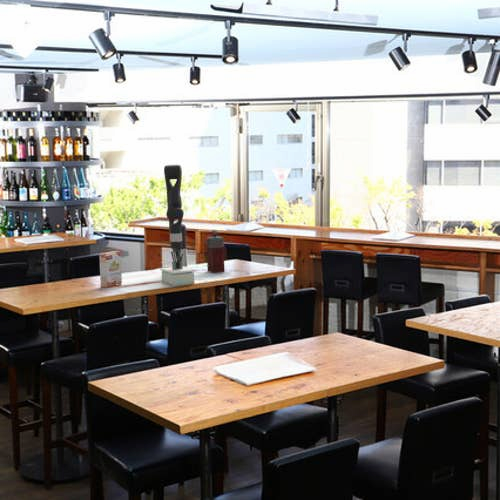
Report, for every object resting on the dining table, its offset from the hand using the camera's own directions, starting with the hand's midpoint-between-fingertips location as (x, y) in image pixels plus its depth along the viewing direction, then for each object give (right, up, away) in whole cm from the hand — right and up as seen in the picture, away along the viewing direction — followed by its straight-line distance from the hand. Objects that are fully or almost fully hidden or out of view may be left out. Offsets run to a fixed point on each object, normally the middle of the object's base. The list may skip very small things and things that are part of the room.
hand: (177, 267), depth 529 cm
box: (0, -9, +1) cm, 10 cm away
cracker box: (-41, -11, -1) cm, 42 cm away
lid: (0, -2, 0) cm, 2 cm away
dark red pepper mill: (+23, -3, +42) cm, 48 cm away
